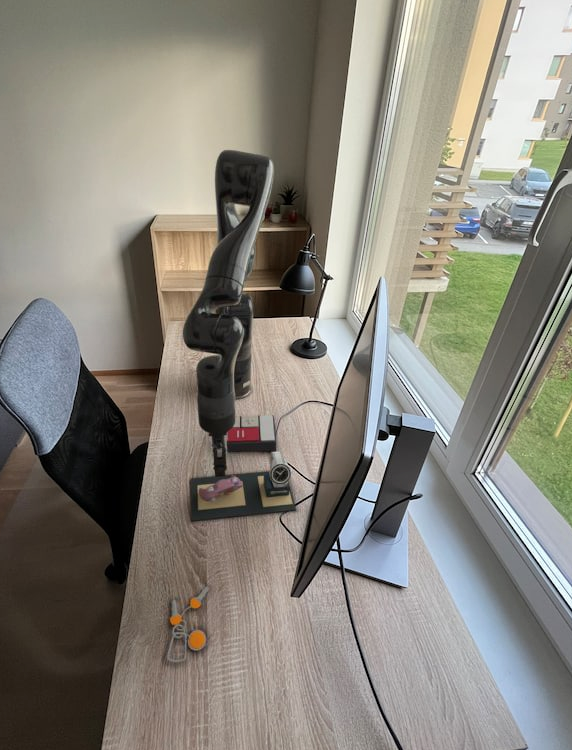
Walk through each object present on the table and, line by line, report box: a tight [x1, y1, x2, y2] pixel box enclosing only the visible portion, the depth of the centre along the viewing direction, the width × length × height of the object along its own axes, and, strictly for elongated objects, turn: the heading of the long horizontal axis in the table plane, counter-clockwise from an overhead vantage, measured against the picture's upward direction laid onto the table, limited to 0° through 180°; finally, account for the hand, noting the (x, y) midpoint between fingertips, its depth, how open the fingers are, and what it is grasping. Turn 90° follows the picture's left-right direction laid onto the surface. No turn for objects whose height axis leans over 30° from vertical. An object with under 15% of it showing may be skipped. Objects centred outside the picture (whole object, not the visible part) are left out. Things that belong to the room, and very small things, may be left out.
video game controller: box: [199, 476, 242, 502], centre depth 94 cm, size 10×5×7 cm, turn 117°
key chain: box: [166, 586, 210, 664], centre depth 73 cm, size 13×7×1 cm, turn 178°
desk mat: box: [190, 470, 297, 522], centre depth 96 cm, size 12×24×1 cm, turn 97°
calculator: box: [223, 414, 277, 452], centre depth 111 cm, size 11×4×15 cm
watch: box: [263, 450, 293, 497], centre depth 94 cm, size 6×8×11 cm
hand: (218, 460), depth 89 cm, fingers open, 8 cm apart
